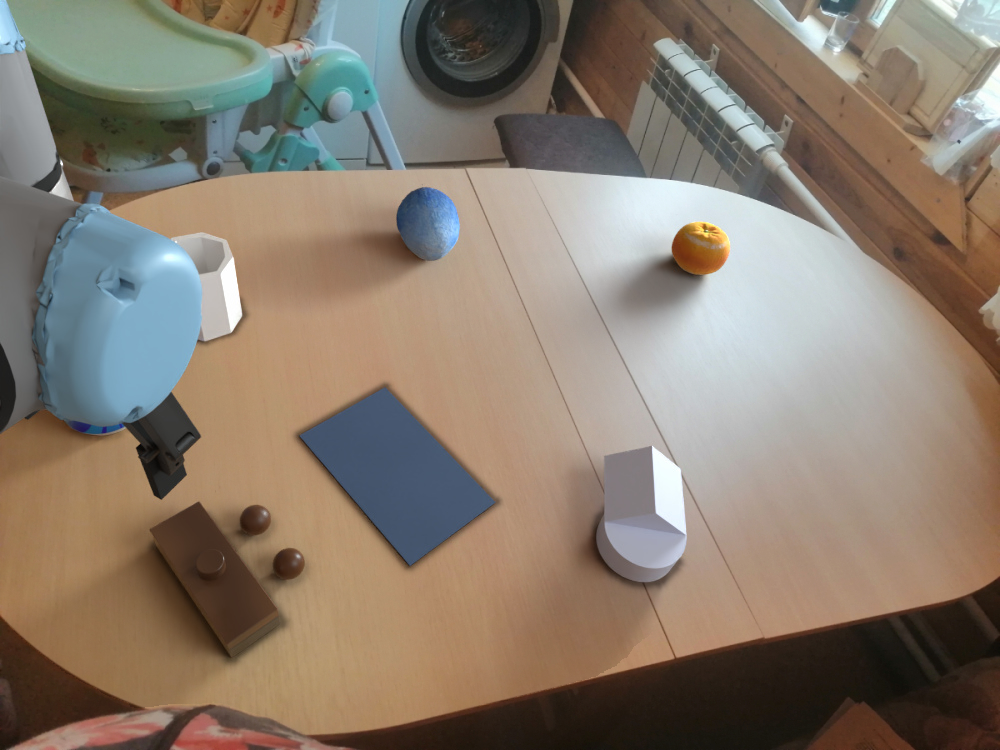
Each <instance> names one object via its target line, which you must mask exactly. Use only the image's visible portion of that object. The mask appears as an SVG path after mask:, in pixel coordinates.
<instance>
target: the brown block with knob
mask: <svg viewBox="0 0 1000 750" xmlns="http://www.w3.org/2000/svg"><path fill="white" fill-rule="evenodd" d="M149 532H150V534H151V537H152V539H153V542H154V544H155V546H156V548H157V549H158V551H159V552H160V554H161V555H162V557H163V559H164V560H165V561H166V563H167V565H168V566H169V567H170V569H171V570H172V572H173V573H174V575H175V576H176V578H177V579H178V581H179V582H180V583H181V585H182V587H183V588H184V590H185V591H186V592H187V594H188V596H189V597H190V598H191V600H192V601H193V603H194V604H195V606H196V607H197V609H198V611H199V613H201V615H202V616H203V617H204V620H206V622H207V624H208V625H209V626H210V628H211V630H212V631H213V632H214V634H215V635H216V637H217V639H218V640H219V641H220V643H221V644H222V646H223V647H224V649H225V650H226V652H227V654H228V655H229V656H230V658H234V657H235V656H237V655H238V654H240V653H241V652H242V651H244V650H245V649H247V648H248V647H250V646H251V645H253V643H255V642H257V641H258V640H260V639H261V638H262V637H264V636H265V635H266V634H268V633H269V632H271V631H272V630H274V629H275V628H276V627H278V626H280V624H281V619H280V613H279V608H278V607H277V606H276V604H275V603H274V602H273V600H272V598H271V597H270V595H268V593H267V592H266V590H265V588H263V586H262V585H261V584H260V581H258V579H257V578H256V577H255V575H254V574H253V573H252V571H251V570H250V569H249V567H248V566H247V564H246V563H245V562H244V560H243V559H242V558H241V556H240V555H239V554H238V552H237V550H235V548H234V547H233V546H232V544H231V543H230V541H229V540H228V538H227V537H226V536H225V534H224V533H223V531H222V530H221V529H220V527H219V526H218V525H217V523H216V522H215V521H214V519H213V518H212V517H211V515H210V514H209V512H208V511H207V510H206V508H205V507H204V506H203V504H202V503H201V502H200V501H197V502H195V503H193V504H192V505H190V506H188V507H186V508H184V509H182V510H181V511H179V512H177V513H175V514H173V516H170V517H169V518H167V519H165V520H163V521H161V522H160V523H158V524H156V525H155V526H152V527H151V528H150V529H149Z"/></svg>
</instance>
